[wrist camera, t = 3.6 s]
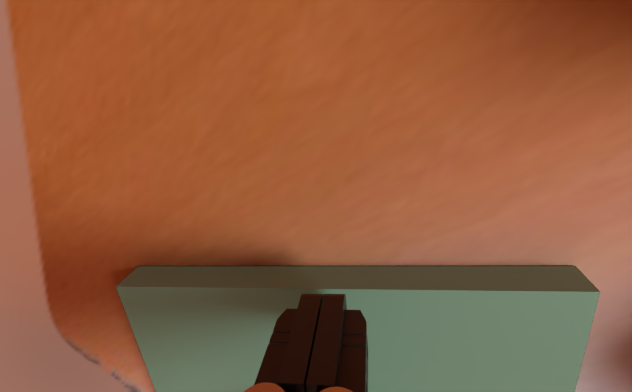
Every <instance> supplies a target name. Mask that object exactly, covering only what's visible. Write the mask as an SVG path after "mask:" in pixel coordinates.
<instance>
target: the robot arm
mask: <svg viewBox="0 0 632 392" xmlns="http://www.w3.org/2000/svg"><path fill="white" fill-rule="evenodd" d="M244 392H368V341H367V323H366V320H365V318H364V316H363V314H362V312H361V310H347V305H346V295H345V294H324V295H323V294H302V295H301V297H300V301H299V304H298V308H297V309H290V308H287V309H286V310H285V311H284V312H283V313H282V314H281V315H280V316H279V318H278V319H277V321H276V324H275V327H274V330H273V334H272V335H271V338H270V341H269V344H268V347H267V349H266V352H265V355H264V358H263V361H262V364H261V366H260V369H259V372H258V375H257V378H256V381H255V383H254V385H253V386H251V387H250V388H248V389H247V390H245V391H244Z"/></svg>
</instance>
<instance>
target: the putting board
mask: <svg viewBox="0 0 632 392" xmlns="http://www.w3.org/2000/svg"><path fill="white" fill-rule="evenodd" d="M116 289H117V292H118V294H119V297H120V299H121V302H122V305H123V307H124V310H125V313H126V315H127V318H128V320H129V323H130V326H131V328H132V331H133V334H134V336H135V339H136V341H137V344H138V347H139V349H140V352H141V355H142V357H143V360H144V362H145V365H146V368H147V370H148V373H149V375H150V378H151V381H152V383H153V386H154V389H155V391H156V392H244V391H245V390H247V389H248V388H250V387H251V386H253V385H254V383H255V381H256V378H257V375H258V372H259V369H260V366H261V364H262V361H263V358H264V355H265V352H266V349H267V347H268V344H269V341H270V338H271V335H272V334H273V330H274V327H275V324H276V321H277V319H278V318H279V316H280V315H281V314H282V313H283V312H284V311H285V310H286V309H287V308H290V309H297V308H298V304H299V301H300V297H301V295H302V294H323V295H324V294H345V295H346V305H347V310H361V312H362V314H363V316H364V318H365V320H366V323H367V341H368V392H575V389H576V385H577V381H578V377H579V373H580V369H581V365H582V361H583V357H584V353H585V349H586V346H587V342H588V338H589V334H590V330H591V326H592V322H593V318H594V314H595V310H596V306H597V302H598V298H599V294H600V291H599V290H598V289H597V288H596V287H595V286H594V285H593V284H592V283H591V282H590V281H589V280H588V279H587V278H586V277H585V276H584V275H583V274H582V272H581V271H580V270H579V269H578V268H577V267H576V266H138V267H137V268H135V269H134V270H133V271H132V272H131V273H130V274H129V275H128V276H127V277H126V278H125V279H123V280H122V281H121V282H120V283H119V284H118V285H117V286H116Z"/></svg>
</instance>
